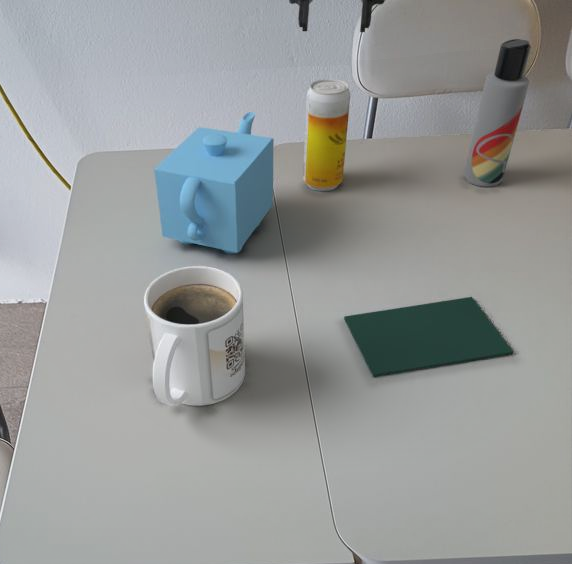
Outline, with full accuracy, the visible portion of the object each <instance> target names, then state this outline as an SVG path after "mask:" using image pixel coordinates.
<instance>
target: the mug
mask: <svg viewBox="0 0 572 564" xmlns="http://www.w3.org/2000/svg"><path fill="white" fill-rule="evenodd" d="M143 306H144V312H145V313H144V314H145V318H146V325H147V331H148V336H149V342H150V348H151V354H152V360H153V361H152V362H153V365H152V386H153V391H154V394H155V396H156V399H157V400H158V402H160V403H162V404H165V405H167V406H171V407H177V406H179V405H181V404H182V405H186V406H194V407H197V406H198V407H200V406H209V405H213V404H217V403H220V402H222V401H224V400H226V399H228V398H230V397H232V395H234V394H235V393H236V392H237V391H238V390H239V388H241V386H242V384H243V382H244V380H245V377H246V355H245V354H246V353H245V349H246V348H245V323H244V321H245V320H244V319H245V318H244V317H245V316H244V293H243V288H242V285H241V284H240V281H238V279H237V278H236V277H234V276H233V275H232V274H231V273H228V272H227V271H225V270H222V269H220V268H216V267H214V266H213V267H212V266H206V265H190V266H188V265H187V266H182V267H178V268H175V269H172V270H169V271H167V272H164V273H162V274H161V275H158V277H157V278H155V279H153V281H152V282H151V283H150V284H149V285H148V286H147V288H146V290H145V292H144V296H143Z"/></svg>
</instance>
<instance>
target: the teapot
mask: <svg viewBox="0 0 572 564" xmlns="http://www.w3.org/2000/svg"><path fill="white" fill-rule="evenodd" d="M255 117H256V113H255V112H253V111H250V112H247V113H245V114H244V115H243V116H242V118H241V119H240V122H239V126H238V128H237V131H236V132H235V131H229V130H222V129H214V128H208V127H201V126H199V127H197V128H196V129H195V130H194V131H193V132H192V133H191V134H190V135H188V136H187V137H186V138H185V139H184V140H183V141H182V142H181V143H180V144H179V145H177V147H176V148H175V149H174V150H172V152H171V153H169V154H168V155H167V156H166V157H165V158H164V159H163V160H162V161H161V162H160V163H159V164H158V165H157V166H156V167H155V169H154V178H155V186H156V194H157V201H158V210H159V219H160V225H161V233H162V237H163V238H168V239H171V240H172V239H173V240H176V241H179V242H180V243H181V244H184V245H190V244H196V245H200V246H205V247H209V248H212V249H213V248H214V249H218V250H221V251H223V252H224V253H227V254H230V255H231V254H237V253H239V252H241V251H242V250H243V247H244V245H245V243H246V242H247V240H248V239H249V238H250V236H251V235H252V233H254V231H255V230H256V228H258V227H259V226H260V225H261V221H262V220H263V219H264V217H265V216H266V215H267V213H268V212H269V210H270V209H271V208H272V206H273V205H274V145H275V143H274V142H275V141H274V140H275V139H274V138H273V137H268V136H261V135H255V134H252V128H253V123H254V120H255Z"/></svg>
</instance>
